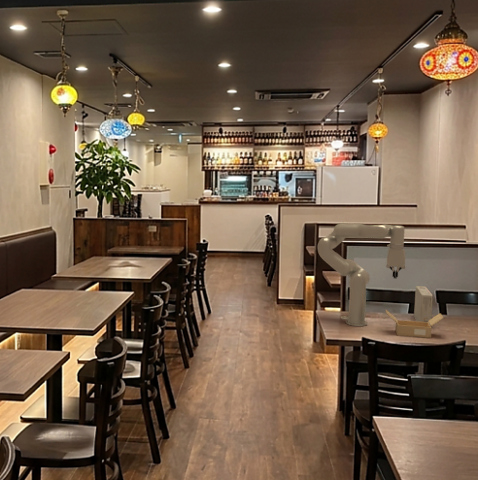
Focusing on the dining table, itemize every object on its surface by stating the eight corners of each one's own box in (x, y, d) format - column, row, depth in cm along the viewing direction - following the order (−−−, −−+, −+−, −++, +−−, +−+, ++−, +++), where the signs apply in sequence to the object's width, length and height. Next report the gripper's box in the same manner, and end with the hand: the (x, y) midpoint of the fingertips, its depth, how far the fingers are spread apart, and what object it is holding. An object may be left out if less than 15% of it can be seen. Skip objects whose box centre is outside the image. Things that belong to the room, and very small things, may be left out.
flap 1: (397, 323, 298) (386, 314, 299) (395, 319, 309) (385, 309, 309) (398, 323, 298) (387, 313, 299) (396, 318, 309) (386, 309, 309)
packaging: (430, 329, 315) (433, 295, 313) (420, 328, 316) (422, 295, 314) (423, 317, 344) (425, 286, 342) (413, 316, 345) (415, 285, 343)
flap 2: (431, 325, 295) (443, 317, 293) (428, 320, 305) (440, 313, 303) (431, 326, 295) (443, 318, 293) (428, 321, 305) (440, 313, 303)
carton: (397, 335, 298) (397, 325, 298) (395, 330, 310) (395, 319, 309) (430, 338, 295) (431, 327, 294) (427, 332, 307) (428, 322, 306)
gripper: (383, 246, 307) (381, 278, 308) (410, 248, 303) (408, 280, 304) (383, 245, 314) (381, 276, 316) (410, 246, 310) (408, 278, 312)
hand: (395, 278), depth 310 cm, fingers closed
